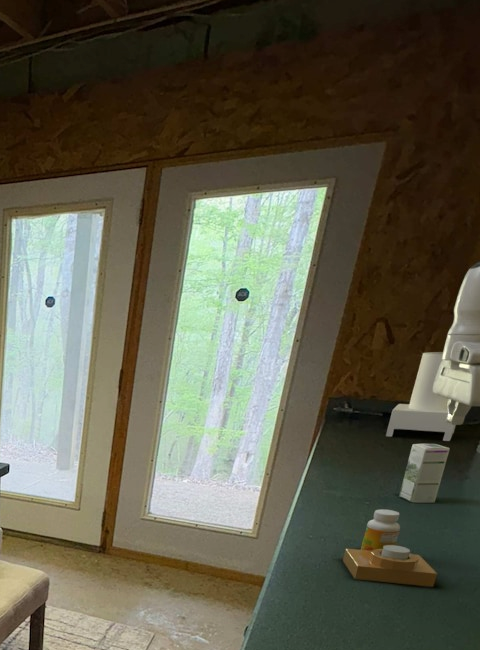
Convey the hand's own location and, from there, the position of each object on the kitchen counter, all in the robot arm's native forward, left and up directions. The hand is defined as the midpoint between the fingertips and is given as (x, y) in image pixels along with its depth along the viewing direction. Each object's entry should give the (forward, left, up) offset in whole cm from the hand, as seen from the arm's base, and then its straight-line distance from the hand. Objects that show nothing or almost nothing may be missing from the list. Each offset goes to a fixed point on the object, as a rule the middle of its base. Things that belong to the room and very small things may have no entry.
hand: (453, 423), depth 123 cm
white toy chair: (-39, -145, -27) cm, 153 cm away
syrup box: (-11, -43, -27) cm, 52 cm away
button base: (+10, +18, -27) cm, 33 cm away
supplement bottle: (+9, +6, -27) cm, 29 cm away
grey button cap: (+10, +20, -22) cm, 31 cm away
